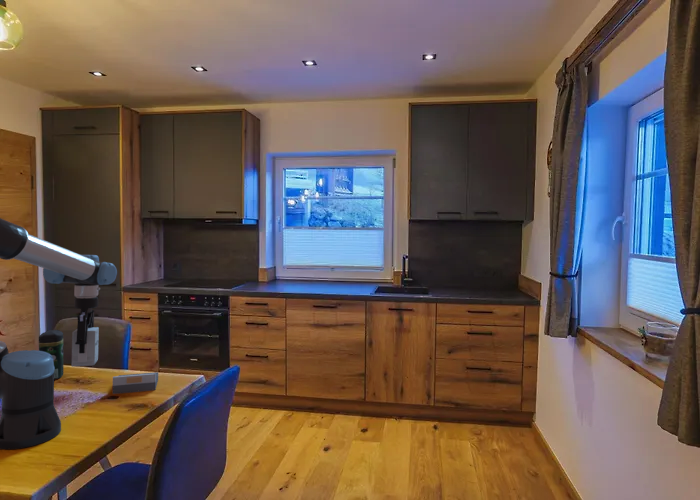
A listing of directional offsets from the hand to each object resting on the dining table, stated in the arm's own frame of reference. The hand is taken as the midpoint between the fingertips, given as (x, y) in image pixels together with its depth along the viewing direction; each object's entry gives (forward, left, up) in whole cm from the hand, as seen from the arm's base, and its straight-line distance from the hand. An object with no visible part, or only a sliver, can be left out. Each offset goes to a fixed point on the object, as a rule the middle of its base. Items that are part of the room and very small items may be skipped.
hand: (85, 358), depth 155 cm
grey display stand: (-2, -17, -11) cm, 21 cm away
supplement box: (0, 0, -2) cm, 2 cm away
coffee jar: (+18, +16, -12) cm, 27 cm away
